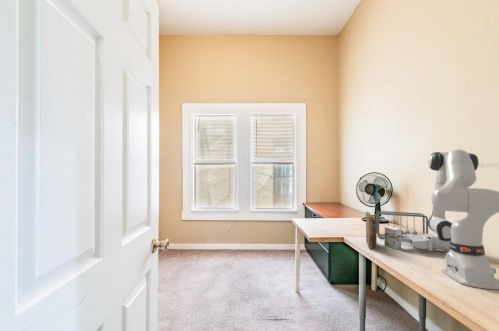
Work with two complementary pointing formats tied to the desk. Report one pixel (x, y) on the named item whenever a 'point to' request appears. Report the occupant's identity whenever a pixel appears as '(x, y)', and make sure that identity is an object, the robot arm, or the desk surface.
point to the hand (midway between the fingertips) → (400, 239)
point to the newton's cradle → (400, 222)
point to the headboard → (371, 231)
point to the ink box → (393, 237)
